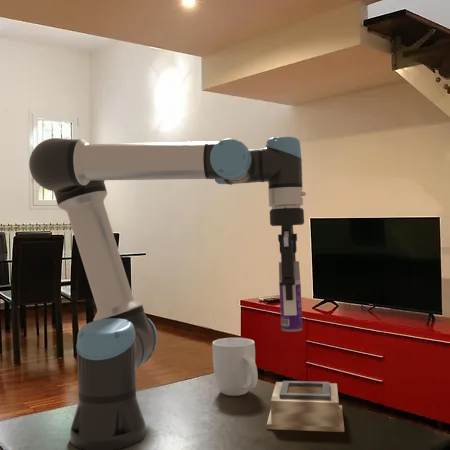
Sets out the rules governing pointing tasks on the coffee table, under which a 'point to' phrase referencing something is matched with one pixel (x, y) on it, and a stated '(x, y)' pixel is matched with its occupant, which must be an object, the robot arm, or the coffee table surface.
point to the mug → (234, 365)
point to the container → (295, 321)
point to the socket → (305, 407)
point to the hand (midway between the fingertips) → (291, 312)
